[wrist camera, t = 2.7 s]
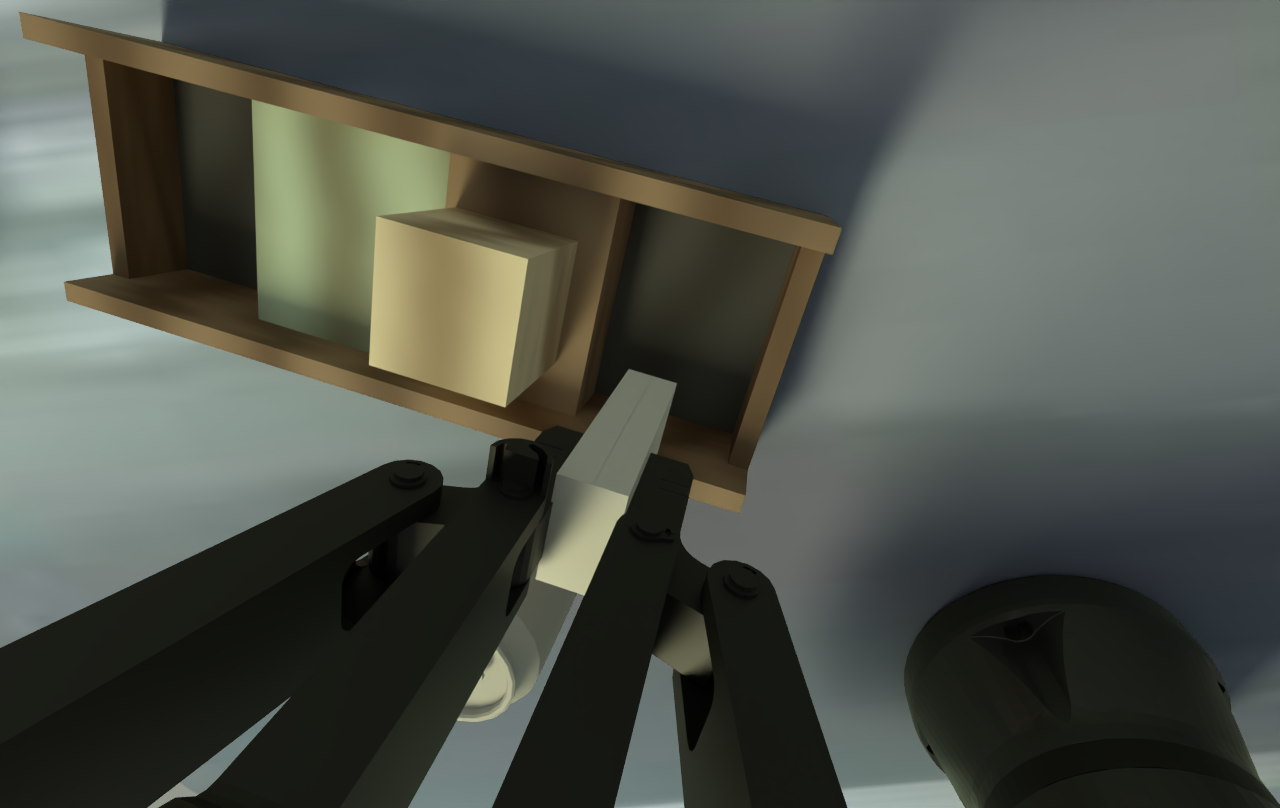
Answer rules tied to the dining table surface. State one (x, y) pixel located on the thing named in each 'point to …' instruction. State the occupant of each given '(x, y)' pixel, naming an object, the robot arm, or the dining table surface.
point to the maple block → (468, 301)
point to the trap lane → (418, 181)
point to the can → (520, 651)
